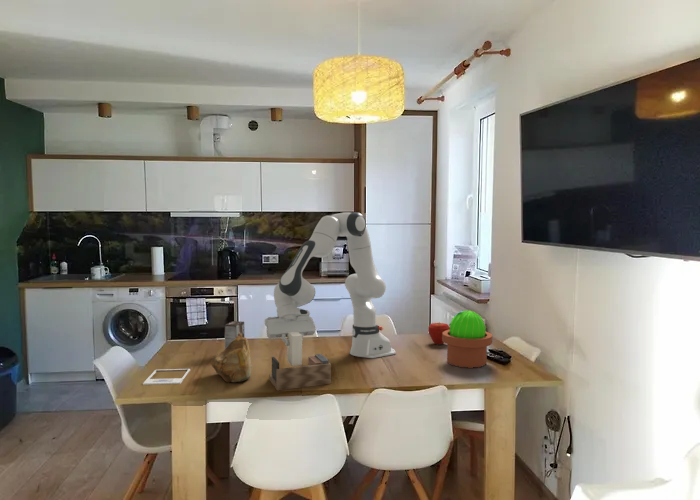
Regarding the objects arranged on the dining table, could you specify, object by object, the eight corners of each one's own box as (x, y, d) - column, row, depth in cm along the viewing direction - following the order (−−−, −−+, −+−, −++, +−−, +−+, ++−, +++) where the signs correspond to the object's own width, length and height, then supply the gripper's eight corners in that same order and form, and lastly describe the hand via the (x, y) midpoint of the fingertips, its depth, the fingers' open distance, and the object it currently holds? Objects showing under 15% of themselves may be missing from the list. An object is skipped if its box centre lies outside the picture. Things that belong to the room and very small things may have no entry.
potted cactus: (499, 362, 231) (501, 309, 229) (476, 373, 215) (478, 315, 213) (457, 353, 246) (458, 303, 244) (433, 363, 229) (434, 309, 228)
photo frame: (142, 383, 199) (155, 369, 216) (142, 385, 199) (155, 371, 216) (180, 382, 200) (190, 368, 218) (180, 384, 200) (190, 370, 218)
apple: (449, 342, 268) (450, 320, 267) (449, 347, 257) (449, 324, 257) (428, 341, 270) (429, 318, 270) (427, 345, 260) (427, 323, 259)
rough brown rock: (216, 369, 221) (213, 337, 219) (254, 365, 222) (251, 333, 221) (207, 389, 198) (202, 353, 196) (249, 384, 199) (245, 348, 198)
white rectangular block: (296, 359, 206) (296, 331, 206) (301, 365, 199) (302, 335, 198) (287, 360, 205) (287, 331, 204) (292, 366, 197) (292, 336, 197)
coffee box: (232, 353, 245) (232, 320, 244) (245, 353, 244) (244, 321, 243) (224, 358, 236) (224, 324, 235) (237, 359, 235) (236, 325, 234)
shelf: (320, 373, 214) (320, 350, 213) (330, 383, 201) (330, 359, 200) (269, 379, 206) (269, 355, 205) (277, 390, 193) (276, 364, 192)
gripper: (264, 313, 204) (270, 342, 196) (312, 310, 212) (319, 338, 203) (262, 322, 209) (267, 350, 200) (309, 318, 216) (316, 346, 208)
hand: (294, 344), depth 202 cm, fingers closed on white rectangular block, 4 cm apart
